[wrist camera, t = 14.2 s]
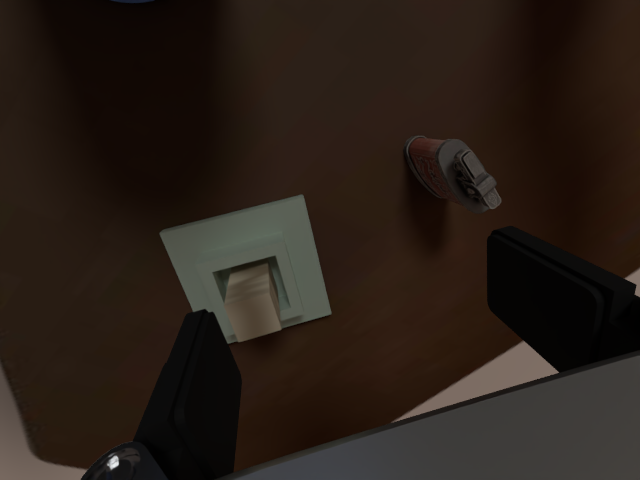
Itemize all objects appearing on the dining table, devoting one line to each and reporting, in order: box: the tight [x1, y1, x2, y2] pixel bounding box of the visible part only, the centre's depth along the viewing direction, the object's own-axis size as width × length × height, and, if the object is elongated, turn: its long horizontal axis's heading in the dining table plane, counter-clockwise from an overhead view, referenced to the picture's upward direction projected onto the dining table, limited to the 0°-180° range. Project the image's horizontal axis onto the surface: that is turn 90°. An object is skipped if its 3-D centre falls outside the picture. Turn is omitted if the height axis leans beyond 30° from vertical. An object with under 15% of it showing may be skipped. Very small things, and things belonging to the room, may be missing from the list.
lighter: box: [403, 136, 501, 214], centre depth 31 cm, size 8×3×10 cm, turn 41°
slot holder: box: [159, 195, 331, 344], centre depth 35 cm, size 15×15×4 cm
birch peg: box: [224, 257, 282, 342], centre depth 32 cm, size 4×4×8 cm
